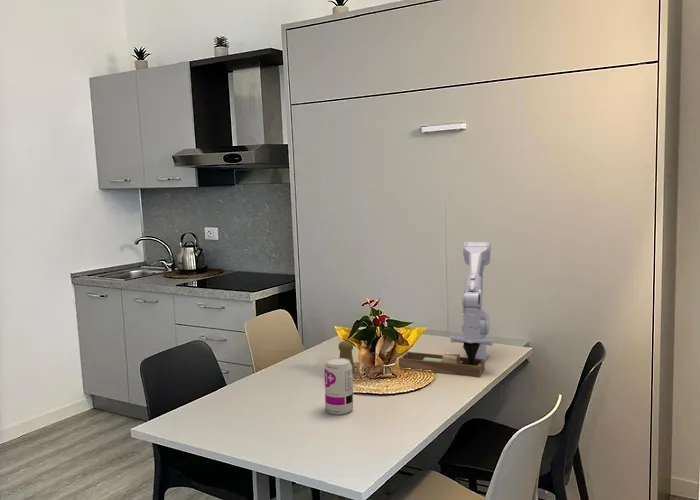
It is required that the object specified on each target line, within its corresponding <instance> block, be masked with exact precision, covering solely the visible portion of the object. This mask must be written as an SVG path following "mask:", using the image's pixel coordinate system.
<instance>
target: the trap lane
mask: <svg viewBox="0 0 700 500" xmlns="http://www.w3.org/2000/svg"><path fill="white" fill-rule="evenodd" d="M404 353H405V352H404ZM404 353H403V354H404ZM403 354H402V355H401V356H400V357H399V358H398V368H399V367H401V368H411V369H422V370H431V371H434V372H436V373H437V374H445V375H453V376H455V375H456V376H463V377H475V378H480V377H481V376H482V374H483V372H484V371H485V369H486V360H485V359H479V358H475V361H474V364H473V365H471V364H469V360H468V357H465V356H460V362H459V363H458V364H456V363H445V362H443V359H442V356H443V355H444V354H435V353H425V352H424V353H423V352H416V351H415V352H414V351H406V353H405V354H404V355H403ZM434 372H433V373H434Z"/></svg>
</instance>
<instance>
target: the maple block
mask: <svg viewBox="0 0 700 500" xmlns="http://www.w3.org/2000/svg"><path fill="white" fill-rule="evenodd" d="M442 355H443V356H442V359H443V362H445V363H456V364H458V363H459V362H460V357H461V356H460V353H455V352H447V351H446V352H445V353H444V354H442Z"/></svg>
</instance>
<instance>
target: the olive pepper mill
mask: <svg viewBox="0 0 700 500" xmlns="http://www.w3.org/2000/svg"><path fill="white" fill-rule="evenodd" d="M346 341H347V340H343V341H340V342H339V343H338V350H339V357H338V358H345V359H348V360H350V363H351V365H352V375H353V374H355V372H356V371H355V364H354V357H353V349H354V344H353V343H352V344H353V345H352V344H350V343H348V342H346Z"/></svg>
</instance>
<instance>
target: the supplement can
mask: <svg viewBox="0 0 700 500" xmlns="http://www.w3.org/2000/svg"><path fill="white" fill-rule="evenodd" d="M353 381H354V380H353V374H352V365H351V363H350V360H348V359H345V358H339V357H334V358H329V359H328V360H326V362H325V364H324V400H325V401H324V404H325V410H326V411H327V412H328V413H329V414H331V415H334V416H335V415H336V416H337V415H338V416H340V415H341V416H342V415H347V414H349V413H351V411H352V410H353V409H354V393H353V391H354V390H353V384H354V383H353Z"/></svg>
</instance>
